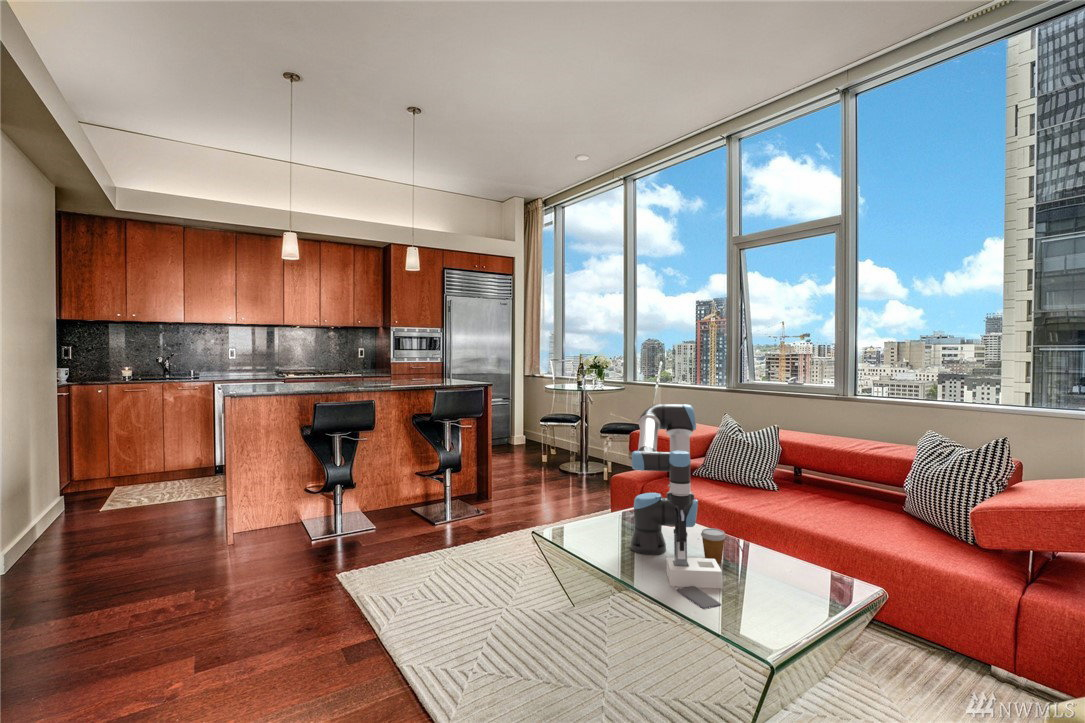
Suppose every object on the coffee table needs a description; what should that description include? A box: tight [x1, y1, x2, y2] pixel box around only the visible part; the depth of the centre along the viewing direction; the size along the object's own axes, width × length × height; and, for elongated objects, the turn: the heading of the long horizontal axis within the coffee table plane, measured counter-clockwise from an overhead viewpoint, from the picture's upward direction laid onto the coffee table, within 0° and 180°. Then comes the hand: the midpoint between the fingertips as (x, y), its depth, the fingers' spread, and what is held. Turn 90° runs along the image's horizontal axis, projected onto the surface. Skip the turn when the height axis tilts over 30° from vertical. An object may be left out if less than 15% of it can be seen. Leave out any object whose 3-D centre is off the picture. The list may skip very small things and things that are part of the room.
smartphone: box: [676, 586, 722, 609], centre depth 178 cm, size 8×1×15 cm
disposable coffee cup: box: [700, 527, 726, 565], centre depth 210 cm, size 10×10×12 cm
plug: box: [673, 528, 688, 566], centre depth 192 cm, size 4×4×12 cm
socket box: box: [665, 556, 723, 589], centre depth 192 cm, size 12×18×6 cm
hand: (680, 556), depth 192 cm, fingers closed on plug, 4 cm apart
